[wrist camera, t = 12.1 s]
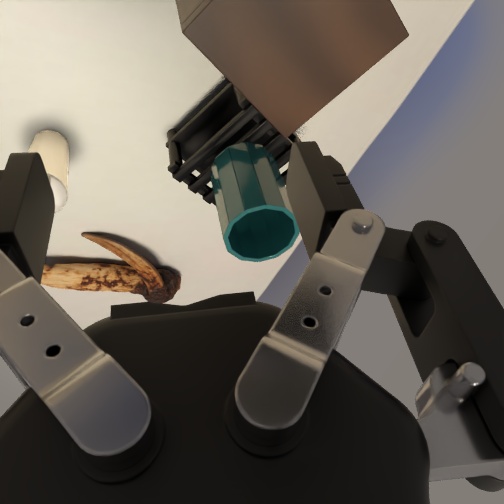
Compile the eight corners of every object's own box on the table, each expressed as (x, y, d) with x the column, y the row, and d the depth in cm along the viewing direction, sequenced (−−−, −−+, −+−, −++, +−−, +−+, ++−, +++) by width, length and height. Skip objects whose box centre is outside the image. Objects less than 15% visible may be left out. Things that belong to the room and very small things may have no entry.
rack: (235, 66, 41) (248, 100, 37) (296, 130, 48) (314, 167, 43) (164, 134, 45) (168, 174, 40) (229, 186, 51) (239, 226, 47)
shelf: (275, -142, 31) (324, -121, 23) (351, -15, 38) (409, 35, 30) (171, -22, 35) (181, 32, 27) (256, 73, 42) (285, 139, 34)
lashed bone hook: (191, 242, 57) (40, 223, 50) (196, 268, 54) (35, 251, 47) (174, 289, 63) (36, 278, 56) (177, 315, 60) (31, 307, 53)
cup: (246, 129, 39) (267, 192, 32) (287, 169, 42) (313, 231, 36) (197, 173, 41) (208, 239, 35) (240, 206, 45) (257, 271, 39)
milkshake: (85, 130, 43) (76, 192, 36) (66, 169, 46) (54, 234, 39) (37, 108, 41) (17, 170, 34) (20, 151, 44) (-2, 217, 37)
